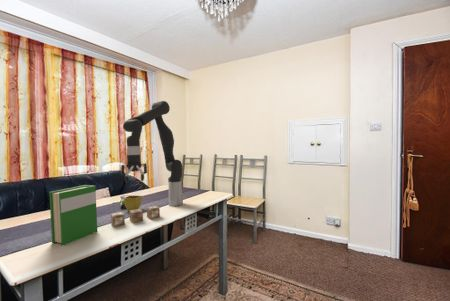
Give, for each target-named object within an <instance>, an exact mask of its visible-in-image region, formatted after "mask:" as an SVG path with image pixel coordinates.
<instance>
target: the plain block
mask: <svg viewBox="0 0 450 301" xmlns="http://www.w3.org/2000/svg"><path fill="white" fill-rule="evenodd" d="M143 213H144V212H143V210H142V208H139V209H135V210H130V211H129V221H130V223H132V224H134V223H139V222H143V221H144V214H143Z"/></svg>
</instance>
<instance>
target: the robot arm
mask: <svg viewBox="0 0 450 301" xmlns="http://www.w3.org/2000/svg"><path fill="white" fill-rule="evenodd" d="M170 110H171V109H170V105H169V103H168V102H167V101H165V100H161V101H156V102H153V103H152V104H151V109H148V110H145V111H143V112H142V113H140V114H138V115H137V116H134V117H131V118H128V119H125V121H124V122H123V124H122V128H123V130H124V131H125V132H127V133H131V135H129V136H127V137H126V164H121V166H120V175H121V176H124V181H125V183H128V184H129V176H128V175H129V174H130V173H131V172H139V174H140V181H141V182H143V181H145V175H146V174H147V173H148V165H147V163H145V162H144V163H142V161H141V160H142V156H141V152H142V151H141V146H140V145H141V143H140V142H141V140H140V139H141V136H142V131H143V127H144V126H146V125H147V124H149V123H151V122H152V121H154V120H155V123H156V127H157V131H158V135H159V140H160V143H161V147H162V152H163V156H164V162H165V168H166V170H167V171H168V172H170V176H169V177H168V179H167V180H168V184H167V185H168V205H169V206H170V207H177V206H178V207H179V206H181V205H183V204H184V198H183V197H184V194H183V193H184V192H183V191H182V178H183V163H182V162H181V160H179V159H176V158H175V155H174V145H175V139H174V138H175V137H174V134H173V132H172V130H171V129H170V127H169V126H168V125H167V124H166V123H165V120H164V118H163V115H164V116H165V115H166V114H167V115H168V113H169V112H170ZM126 168H127V170H126V172H125V169H126ZM141 168H143V170H142V169H141Z"/></svg>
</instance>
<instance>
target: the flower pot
mask: <svg viewBox="0 0 450 301" xmlns="http://www.w3.org/2000/svg"><path fill="white" fill-rule="evenodd" d="M142 198H143V196H142V195H129V196H126V197H125V198H123V201H124V206H125V208H126V210H127V211H129V212H130V210H135V209H140V207H141V206H142V205H141V204H142Z"/></svg>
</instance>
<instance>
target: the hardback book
mask: <svg viewBox="0 0 450 301" xmlns="http://www.w3.org/2000/svg"><path fill="white" fill-rule="evenodd" d="M96 187H97V186H96V185H93V184H92V185H89V184H83V185H79V186H73V187H70V188H69V187H67V188H64V189H63V188H62V189H59V190H53V191H49V194H48V195H49V208H50V210H49V211H50V212H49V213H50V228H51V244H52V243H54V244H57V243H58V244H61V245H64V246H66V245H68V244H70V242H71V243H73V242H75V240H76V241H78V240H81V239H83V238H85V237H88V236H89V235H92V234H95V233H97V232H98V220H97V219H98V218H97V217H98V214H97V213H98V212H97V191H96ZM94 232H95V233H94ZM82 237H83V238H82ZM77 239H78V240H77ZM72 241H73V242H72ZM56 242H57V243H56ZM67 243H68V244H67ZM65 244H66V245H65Z"/></svg>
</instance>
